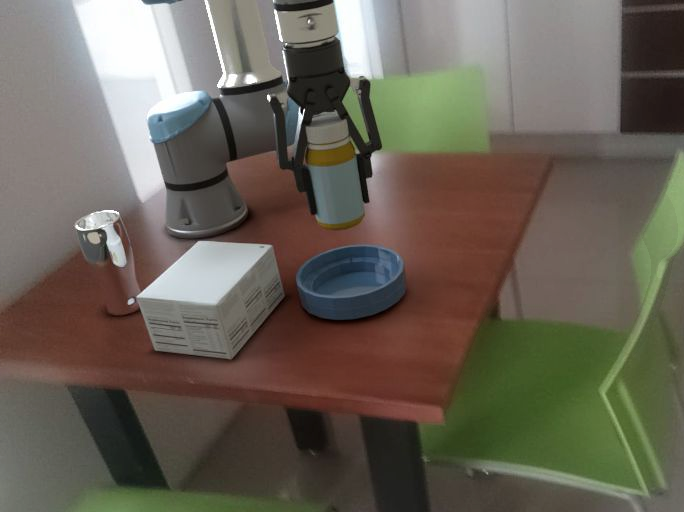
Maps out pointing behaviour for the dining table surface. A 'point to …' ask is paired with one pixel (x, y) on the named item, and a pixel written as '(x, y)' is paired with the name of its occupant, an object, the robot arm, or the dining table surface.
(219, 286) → the supplement box
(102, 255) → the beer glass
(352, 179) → the bottle
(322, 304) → the bowl
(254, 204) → the dining table surface
